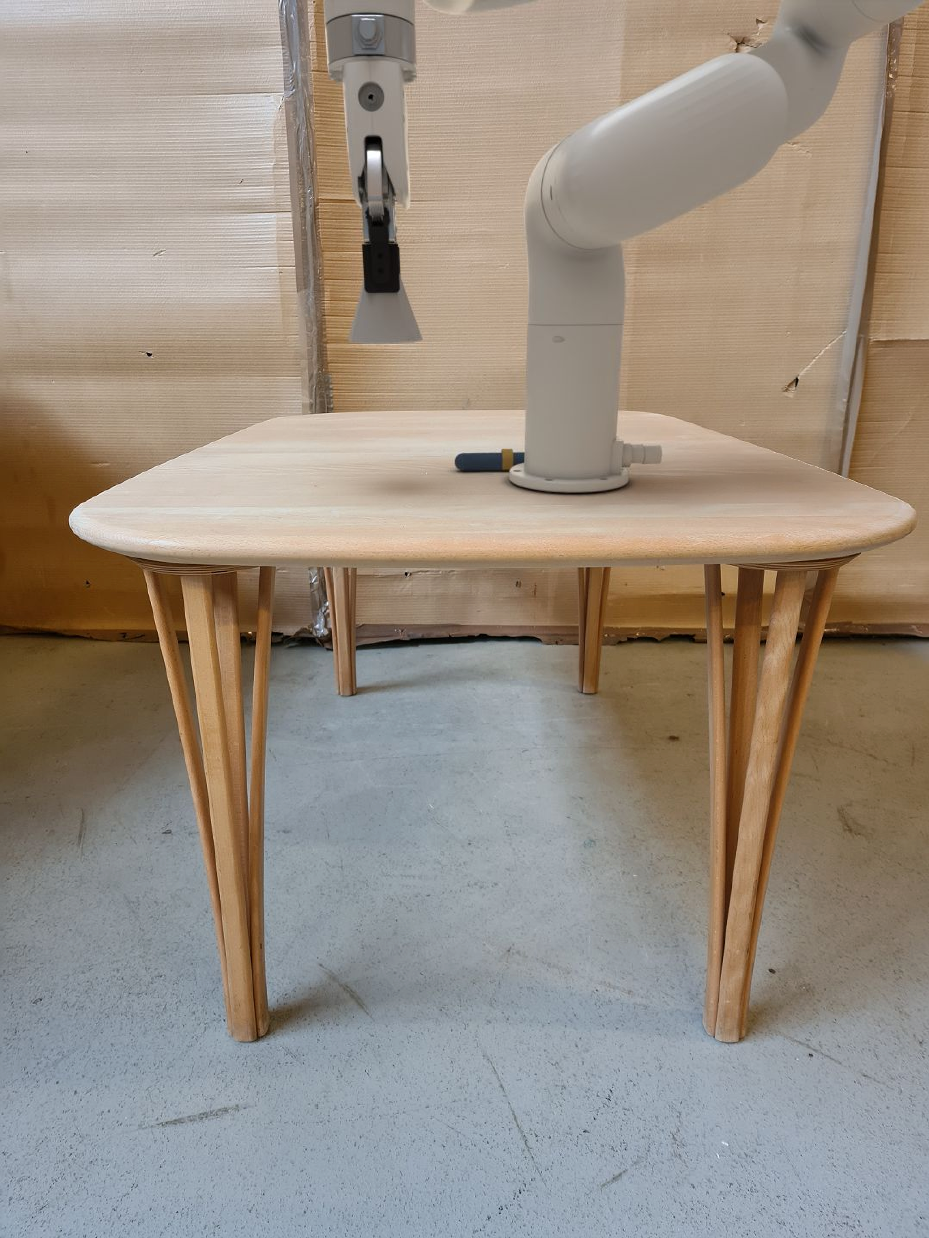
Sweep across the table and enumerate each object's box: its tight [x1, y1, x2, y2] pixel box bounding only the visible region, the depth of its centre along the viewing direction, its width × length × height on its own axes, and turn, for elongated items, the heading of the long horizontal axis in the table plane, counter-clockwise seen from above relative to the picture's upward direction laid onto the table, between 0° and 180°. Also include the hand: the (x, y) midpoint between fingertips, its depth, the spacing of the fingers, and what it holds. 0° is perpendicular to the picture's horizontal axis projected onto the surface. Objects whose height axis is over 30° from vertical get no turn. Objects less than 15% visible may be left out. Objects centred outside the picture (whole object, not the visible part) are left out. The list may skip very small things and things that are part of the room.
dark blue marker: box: [454, 448, 525, 472], centre depth 87 cm, size 12×2×2 cm, turn 92°
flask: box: [348, 225, 424, 345], centre depth 71 cm, size 7×7×10 cm
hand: (383, 291), depth 71 cm, fingers closed on flask, 3 cm apart
